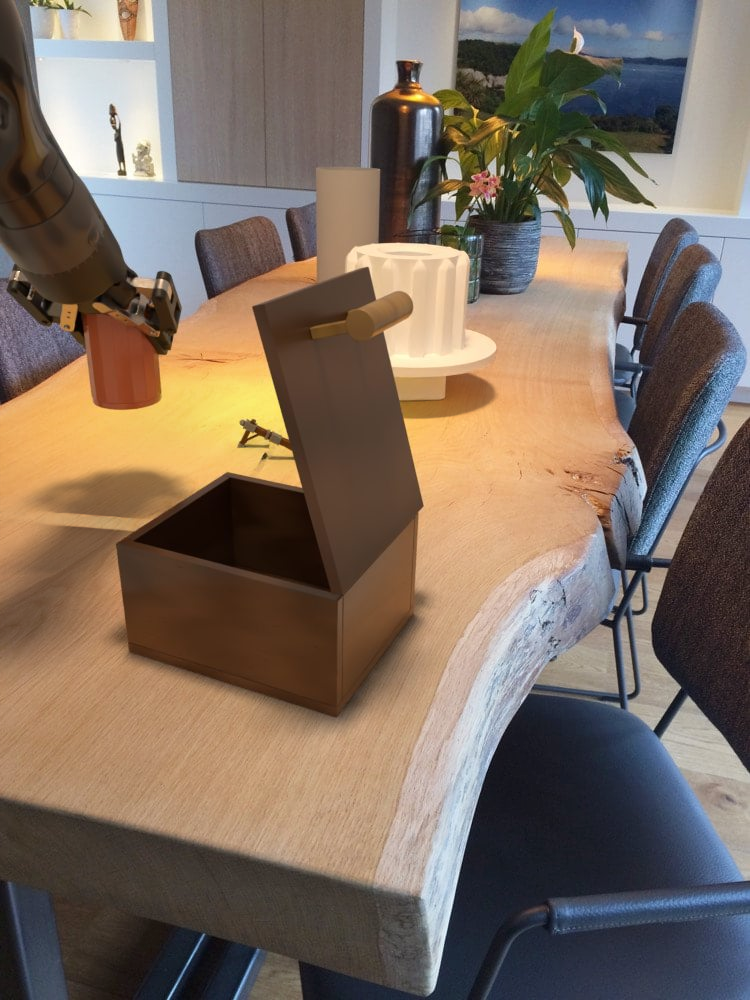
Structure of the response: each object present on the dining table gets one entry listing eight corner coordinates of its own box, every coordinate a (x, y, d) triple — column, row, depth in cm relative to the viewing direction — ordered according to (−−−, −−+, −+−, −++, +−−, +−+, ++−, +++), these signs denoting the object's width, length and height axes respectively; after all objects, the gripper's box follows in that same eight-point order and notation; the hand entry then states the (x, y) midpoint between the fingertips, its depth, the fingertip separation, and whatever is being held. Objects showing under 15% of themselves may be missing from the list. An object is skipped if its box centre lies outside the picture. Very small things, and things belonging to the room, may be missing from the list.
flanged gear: (323, 422, 103) (322, 267, 95) (306, 366, 126) (305, 236, 118) (515, 416, 107) (530, 267, 99) (466, 363, 130) (475, 237, 121)
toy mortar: (228, 446, 93) (243, 411, 91) (294, 473, 95) (310, 439, 93) (226, 453, 91) (241, 417, 89) (293, 480, 93) (309, 445, 91)
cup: (80, 407, 76) (68, 309, 72) (109, 386, 81) (99, 294, 78) (147, 412, 75) (138, 313, 71) (171, 391, 81) (164, 298, 77)
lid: (251, 306, 44) (331, 289, 42) (358, 268, 56) (426, 253, 53) (331, 595, 50) (407, 594, 47) (414, 507, 61) (478, 502, 59)
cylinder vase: (304, 296, 172) (303, 167, 162) (349, 289, 180) (351, 166, 169) (343, 307, 164) (344, 171, 153) (389, 299, 172) (393, 170, 161)
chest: (128, 651, 59) (115, 543, 56) (232, 566, 71) (227, 471, 67) (336, 717, 53) (337, 601, 50) (413, 613, 65) (418, 512, 61)
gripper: (155, 193, 63) (210, 314, 78) (-25, 184, 64) (65, 305, 80) (135, 277, 60) (196, 385, 76) (-52, 266, 61) (46, 374, 77)
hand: (129, 344), depth 78 cm, fingers closed on cup, 6 cm apart
